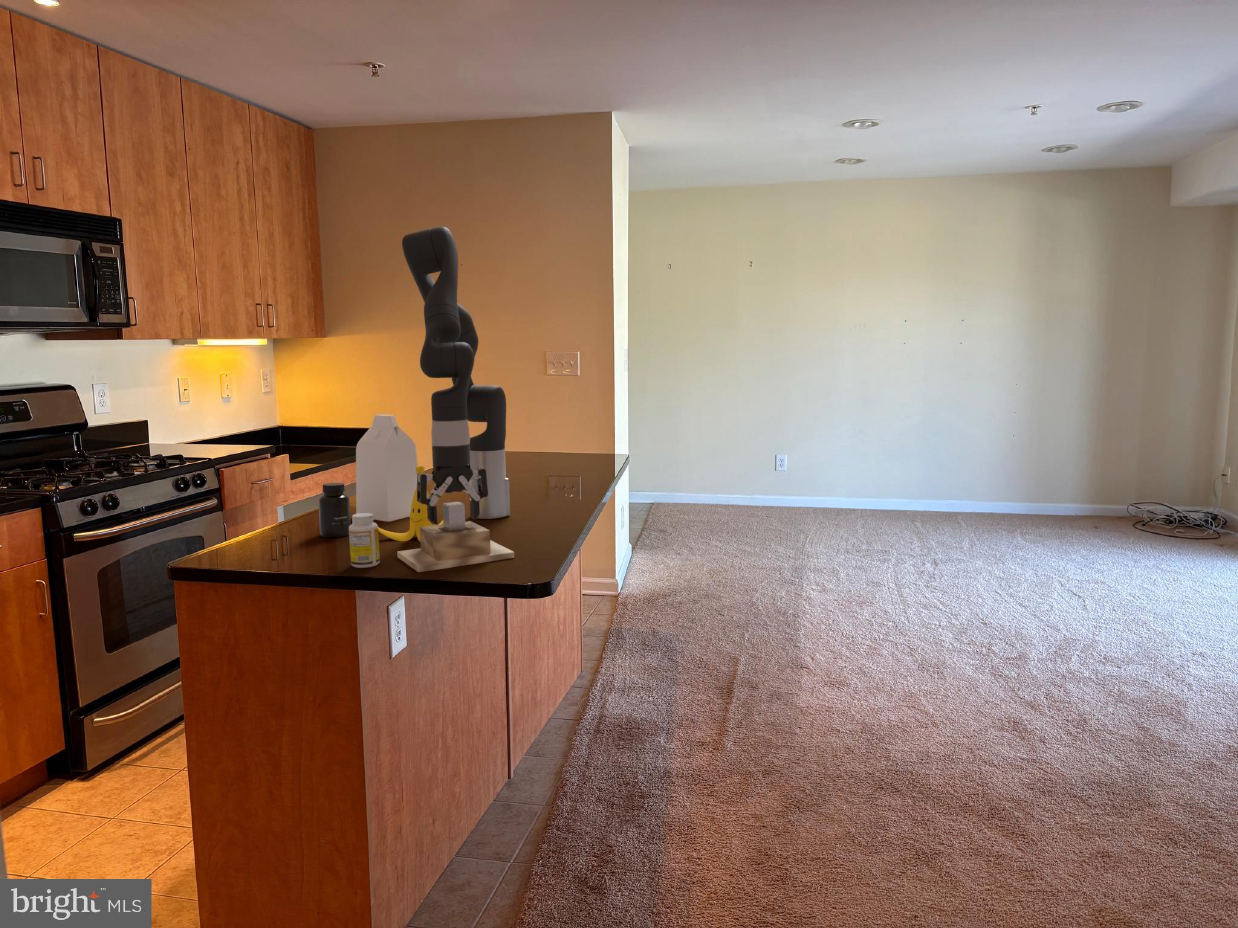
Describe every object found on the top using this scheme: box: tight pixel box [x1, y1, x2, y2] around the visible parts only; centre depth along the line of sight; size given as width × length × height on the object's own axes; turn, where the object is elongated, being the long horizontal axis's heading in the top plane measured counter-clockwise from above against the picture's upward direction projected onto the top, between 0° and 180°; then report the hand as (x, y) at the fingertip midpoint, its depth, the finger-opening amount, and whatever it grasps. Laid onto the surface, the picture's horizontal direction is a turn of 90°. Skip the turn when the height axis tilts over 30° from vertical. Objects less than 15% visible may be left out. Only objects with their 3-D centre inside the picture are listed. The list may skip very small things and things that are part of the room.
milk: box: [355, 414, 419, 522], centre depth 213 cm, size 12×12×26 cm
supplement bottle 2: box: [348, 513, 381, 569], centre depth 165 cm, size 6×6×10 cm
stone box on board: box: [396, 520, 515, 573], centre depth 170 cm, size 20×14×6 cm
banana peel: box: [378, 465, 443, 543], centre depth 190 cm, size 17×19×17 cm
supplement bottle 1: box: [318, 482, 352, 539], centre depth 192 cm, size 7×7×12 cm
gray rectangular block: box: [442, 501, 466, 533], centre depth 170 cm, size 3×3×10 cm
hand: (454, 521), depth 169 cm, fingers open, 8 cm apart
